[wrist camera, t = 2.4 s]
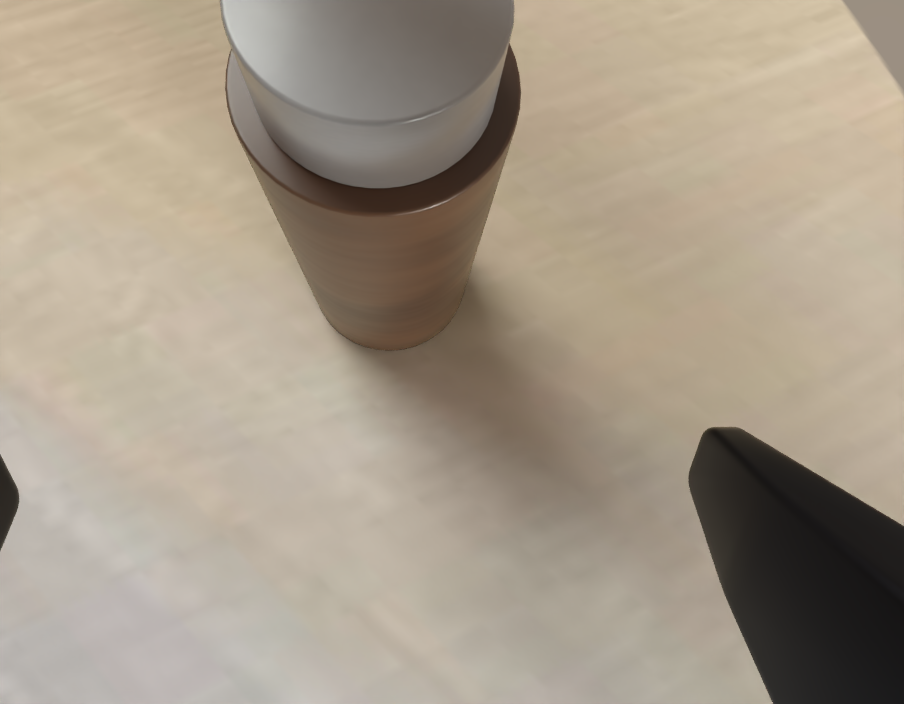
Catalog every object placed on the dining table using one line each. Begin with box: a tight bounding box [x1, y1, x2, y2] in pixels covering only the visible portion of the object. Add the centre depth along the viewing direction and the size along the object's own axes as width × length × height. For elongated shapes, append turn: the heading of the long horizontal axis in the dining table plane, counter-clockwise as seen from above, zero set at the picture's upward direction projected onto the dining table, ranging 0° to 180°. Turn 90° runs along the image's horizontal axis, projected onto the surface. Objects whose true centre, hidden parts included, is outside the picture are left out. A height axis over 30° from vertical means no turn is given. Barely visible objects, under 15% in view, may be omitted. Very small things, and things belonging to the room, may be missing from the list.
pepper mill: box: [220, 0, 521, 350], centre depth 15 cm, size 6×6×13 cm
